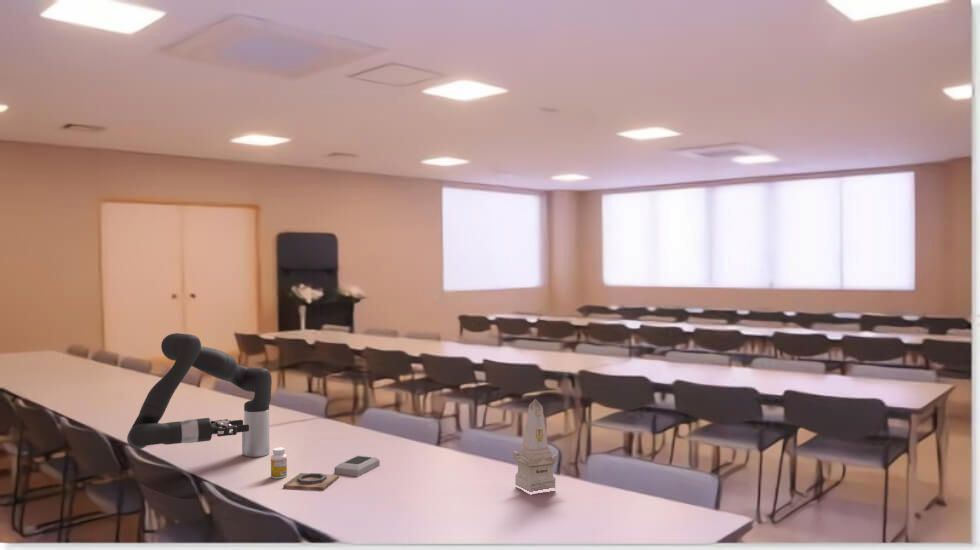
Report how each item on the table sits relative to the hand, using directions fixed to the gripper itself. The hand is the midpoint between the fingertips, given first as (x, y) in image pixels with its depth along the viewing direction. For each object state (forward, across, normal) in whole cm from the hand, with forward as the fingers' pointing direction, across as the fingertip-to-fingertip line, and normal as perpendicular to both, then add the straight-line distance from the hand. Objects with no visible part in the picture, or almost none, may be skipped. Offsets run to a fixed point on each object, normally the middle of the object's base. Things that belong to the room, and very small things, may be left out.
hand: (245, 425), depth 256 cm
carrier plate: (+19, -13, +19) cm, 30 cm away
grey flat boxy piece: (+38, -5, +20) cm, 43 cm away
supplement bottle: (+11, 0, +19) cm, 22 cm away
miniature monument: (+80, -56, +19) cm, 100 cm away
